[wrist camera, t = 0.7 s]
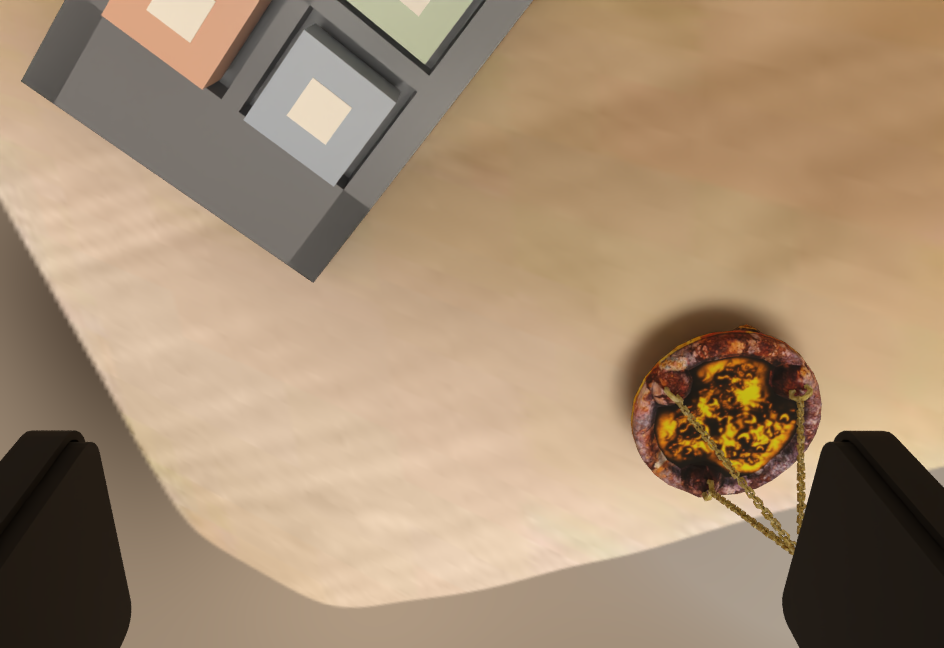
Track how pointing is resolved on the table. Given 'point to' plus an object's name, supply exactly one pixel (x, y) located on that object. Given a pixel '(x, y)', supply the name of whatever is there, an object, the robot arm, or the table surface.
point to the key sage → (414, 21)
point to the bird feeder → (728, 418)
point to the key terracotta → (189, 31)
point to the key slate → (322, 104)
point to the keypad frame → (230, 99)
